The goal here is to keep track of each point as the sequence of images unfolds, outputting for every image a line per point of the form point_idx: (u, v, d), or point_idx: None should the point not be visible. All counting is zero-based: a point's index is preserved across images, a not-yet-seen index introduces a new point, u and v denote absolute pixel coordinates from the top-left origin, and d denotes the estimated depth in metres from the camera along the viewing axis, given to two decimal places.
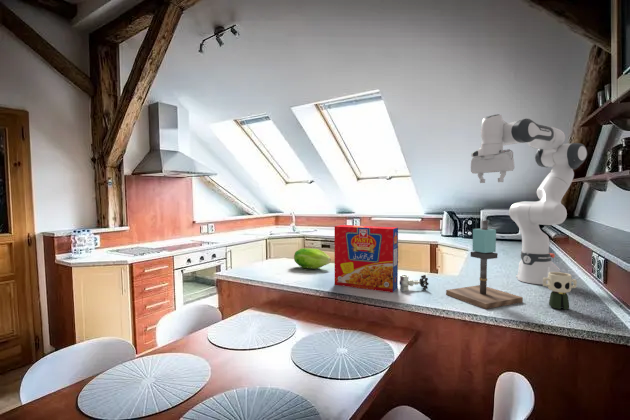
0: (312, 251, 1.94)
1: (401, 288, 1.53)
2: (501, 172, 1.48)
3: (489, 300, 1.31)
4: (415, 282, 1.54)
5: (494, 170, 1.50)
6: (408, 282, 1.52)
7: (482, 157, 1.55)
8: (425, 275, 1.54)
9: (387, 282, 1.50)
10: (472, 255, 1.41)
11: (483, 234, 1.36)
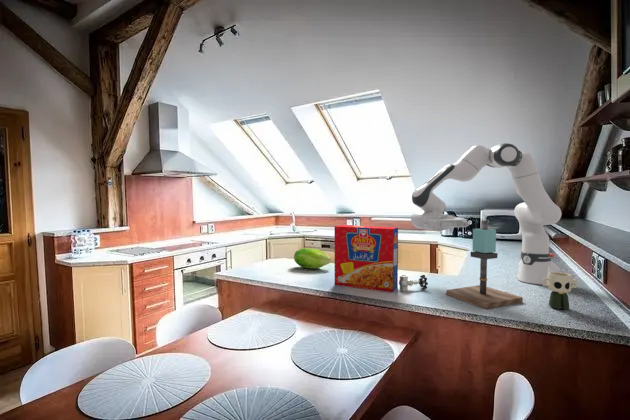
0: (312, 251, 1.94)
1: (401, 288, 1.53)
2: (442, 226, 1.53)
3: (489, 300, 1.31)
4: (414, 282, 1.54)
5: (445, 227, 1.55)
6: (407, 282, 1.52)
7: None
8: (424, 275, 1.54)
9: (387, 282, 1.50)
10: (472, 255, 1.41)
11: (483, 234, 1.36)
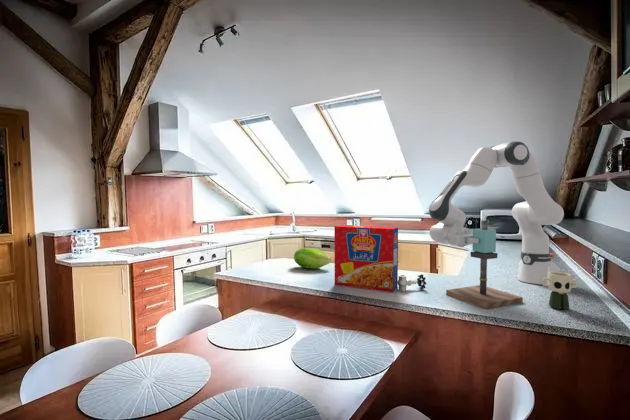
0: (312, 251, 1.94)
1: (399, 288, 1.53)
2: (468, 242, 1.41)
3: (489, 300, 1.31)
4: (413, 282, 1.54)
5: (470, 243, 1.43)
6: (406, 282, 1.53)
7: None
8: (422, 275, 1.55)
9: (387, 282, 1.50)
10: (472, 255, 1.41)
11: (483, 234, 1.36)
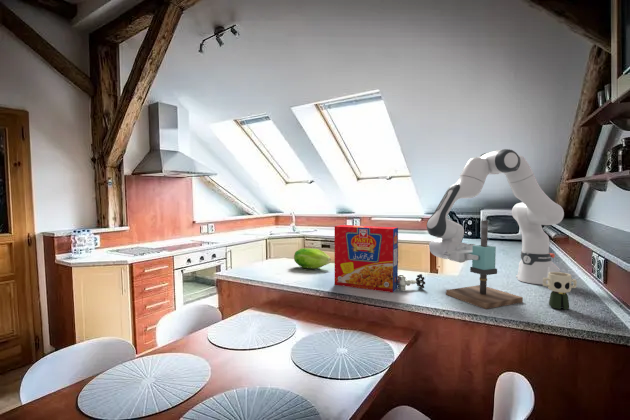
0: (312, 251, 1.94)
1: (399, 288, 1.53)
2: None
3: (489, 300, 1.31)
4: (412, 282, 1.54)
5: (469, 259, 1.43)
6: (405, 282, 1.53)
7: None
8: (421, 274, 1.55)
9: (387, 282, 1.50)
10: (472, 270, 1.41)
11: (483, 251, 1.37)
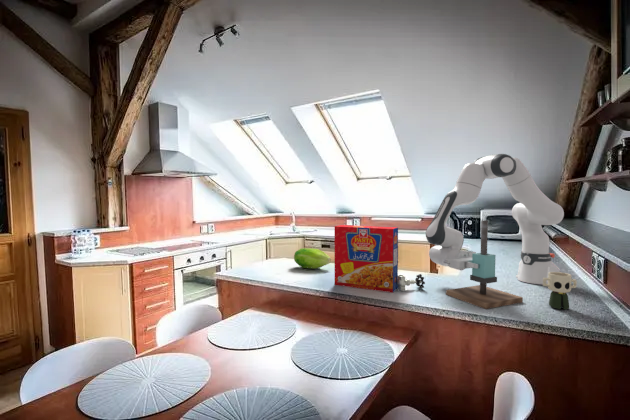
0: (312, 251, 1.94)
1: (398, 288, 1.53)
2: None
3: (489, 300, 1.31)
4: (412, 282, 1.54)
5: None
6: (405, 282, 1.53)
7: None
8: None
9: (387, 282, 1.50)
10: (472, 278, 1.41)
11: (483, 259, 1.37)
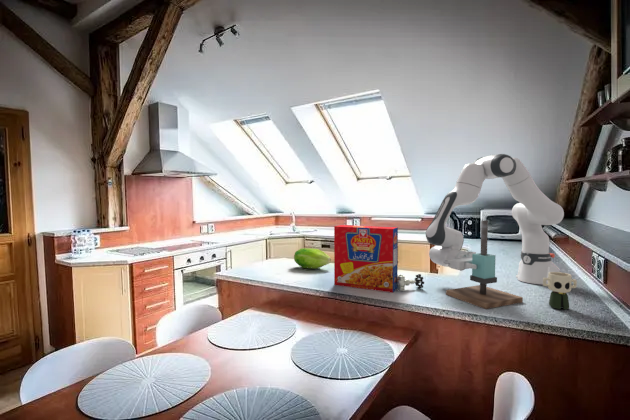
0: (312, 251, 1.94)
1: (398, 288, 1.53)
2: None
3: (489, 300, 1.31)
4: (411, 281, 1.55)
5: (469, 268, 1.43)
6: (405, 282, 1.53)
7: None
8: (420, 274, 1.56)
9: (387, 282, 1.50)
10: (472, 279, 1.41)
11: (482, 260, 1.37)
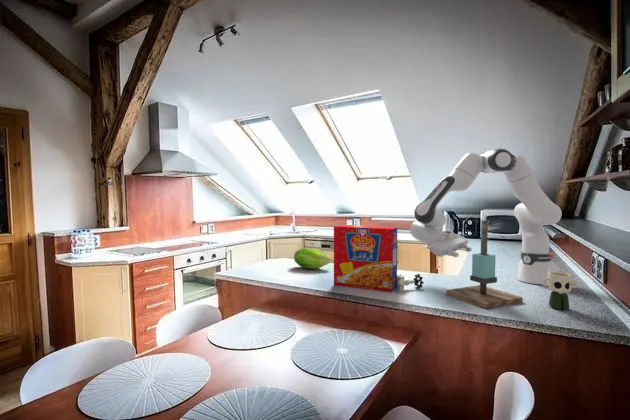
0: (312, 251, 1.94)
1: (397, 288, 1.53)
2: None
3: (489, 300, 1.31)
4: (410, 281, 1.55)
5: None
6: (404, 282, 1.53)
7: None
8: (419, 274, 1.56)
9: (386, 282, 1.51)
10: (472, 279, 1.41)
11: (482, 260, 1.37)
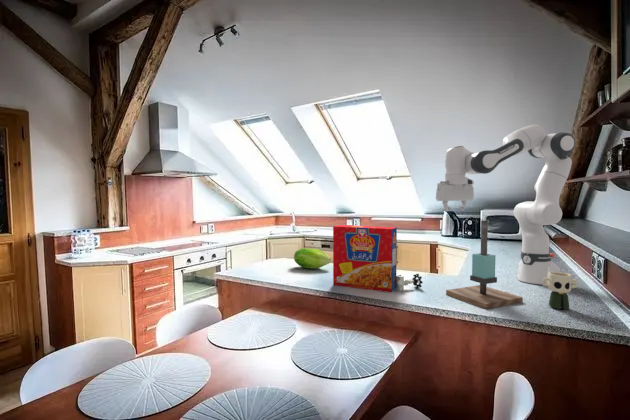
0: (312, 251, 1.94)
1: (397, 288, 1.53)
2: None
3: (489, 300, 1.31)
4: (409, 281, 1.55)
5: None
6: (404, 282, 1.53)
7: None
8: (418, 274, 1.57)
9: (386, 281, 1.51)
10: (472, 279, 1.41)
11: (482, 260, 1.37)
